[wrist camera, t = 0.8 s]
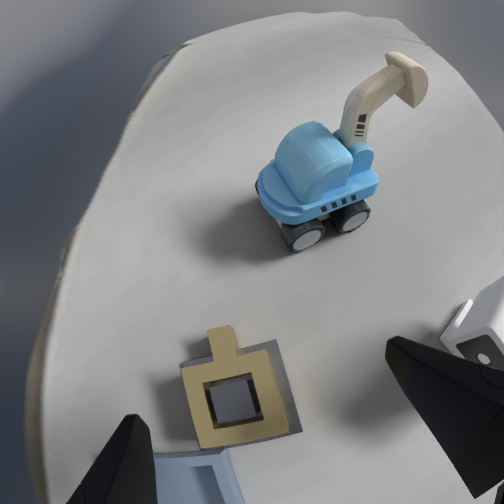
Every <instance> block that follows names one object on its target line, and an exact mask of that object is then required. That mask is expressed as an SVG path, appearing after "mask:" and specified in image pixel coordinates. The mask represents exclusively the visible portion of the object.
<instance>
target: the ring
mask: <svg viewBox="0 0 504 504" xmlns="http://www.w3.org/2000/svg"><path fill="white" fill-rule="evenodd" d="M207 333H208V337H209V342H210V346H211V351H212V355H213V359H214V362H210V363H205V364H200V365H196V366H191V367H185V368H181V372H182V376H183V381H184V385H185V390H186V394H187V398H188V402H189V407H190V411H191V414H192V418H193V422H194V426H195V430H196V433H197V437H198V440H199V444H200V447H201V449H202V448H211V447H218V446H225V445H232V444H238V443H243V442H249V441H254V440H259V439H263V438H268V437H272V436H276V435H281V434H284V433H288V432H289V424H288V420H287V417H286V413H285V410H284V406H283V403H282V400H281V396H280V392H279V389H278V385H277V382H276V378H275V375H274V371H273V368H272V364H271V361H270V357H269V354H268V352H267V350H266V349H263V350H259V351H255V352H251V353H248V354H244V355H240V353H239V349H238V345H237V341H236V337H235V333H234V329H233V328H232V327H231V326H230V325H226V326H222V327H218V328H214V329H210V330H207ZM249 374H252V377H253V381H254V384H255V388H256V392H257V395H258V399H259V402H260V406H261V410H262V413H263V415H262V416H257V417H253V418H248V419H243V420H238V421H233V422H228V423H224V422H222V423H218V420H217V417H216V413H215V409H214V405H213V402H212V398H211V394H210V390H209V388H210V387H214V382H218V381H223V380H228V379H232V378H237V377H241V376H245V375H249Z"/></svg>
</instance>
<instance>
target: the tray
mask: <svg viewBox="0 0 504 504" xmlns="http://www.w3.org/2000/svg"><path fill="white" fill-rule="evenodd" d="M153 456H154V463H155V472H156V487H157V499H158V504H245V502H244V499H243V496H242V493H241V490H240V488H239V485H238V482H237V479H236V476H235V473H234V469H233V466H232V463H231V460H230V457H229V453H228V450H227V448H223V449H216V450H208V451H205V450H201V451H190V452H177V453H153Z"/></svg>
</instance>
